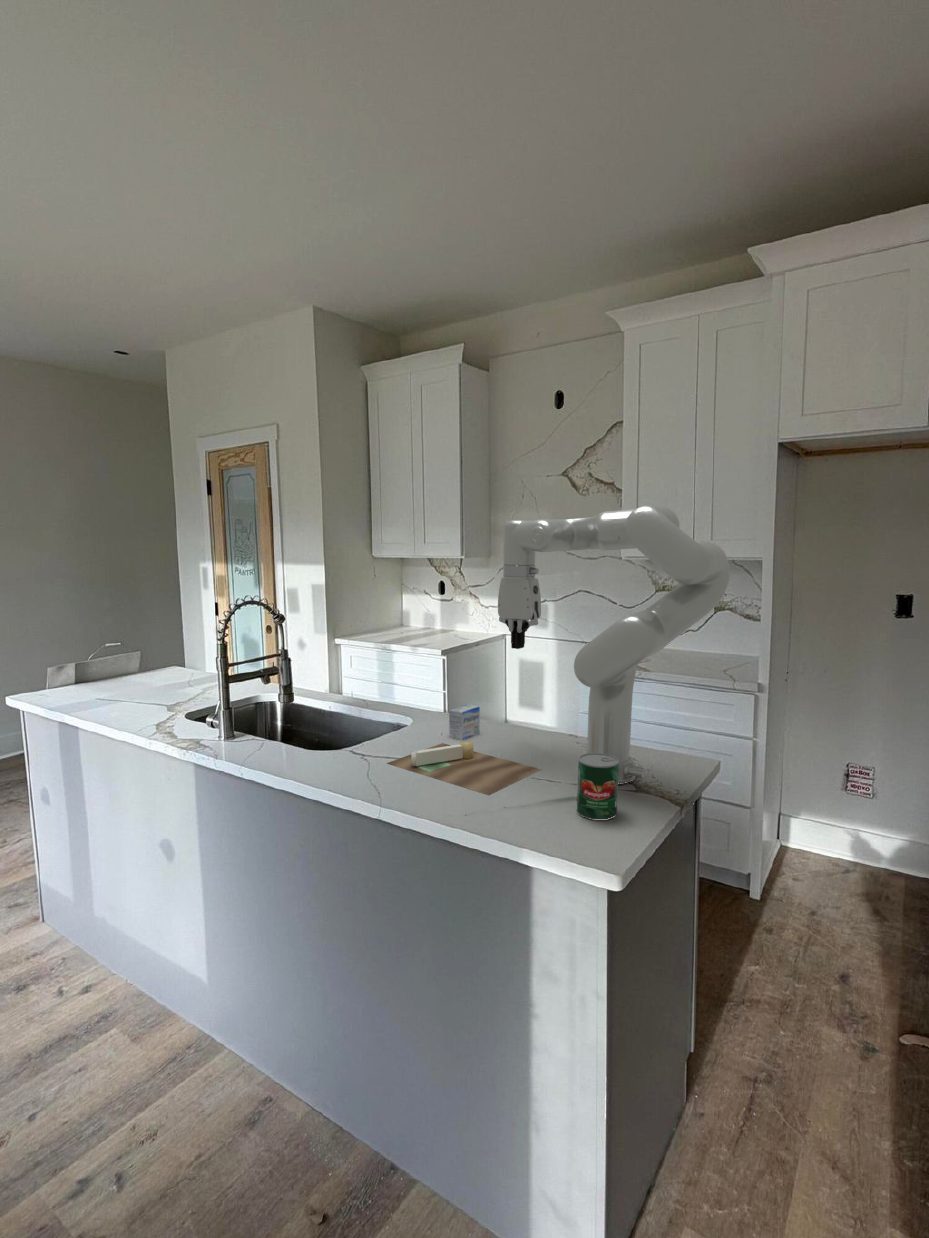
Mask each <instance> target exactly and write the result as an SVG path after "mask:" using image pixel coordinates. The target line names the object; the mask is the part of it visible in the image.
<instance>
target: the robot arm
mask: <svg viewBox="0 0 929 1238" xmlns="http://www.w3.org/2000/svg"><path fill="white" fill-rule="evenodd" d="M503 527H504V528H503V572H502V573H503V575H502V577H501V578H500V583H499V587H498V588H499V590H498V595H497V596H498V597H497V598H498V599H497V615H498V616H499V618H498V622H500V623H502V624H504V625H506V627H507V629H508V632H510V644H511V646H510V647H511V649H516V650H520V649H524V648H525V643H526V632H527V631H528V630H529V628H530V627H533V626H538V624H539V621H538V620H539V619H540V618H541V617H542V597H541V589H540V583H539V579H538V578H535V577H536V575H538V574H539V572H540V570H539V568H536V552H538V553H553V552H567V551H568V552H570V551H581V550H582V551H584V550H601V551H617V550H629V549H637V550H638V551H639V552H640V553H641V554H643V555H644V556H645V557H646V558H647V559H648V560H650V561H651V562H652V563H653V564H654V565H655V566H657V567H658V568H659V569H660V570H661V571H662V572H663V573H665V575H667V576H668V577H670V578H671V579H672V580H674V581H675V582H678V583H679V584H678V585H676V587H674V588H672V589H671V590H670V591H668V592H667V593H665V594H664V595H662V597H661V598H660V599H658V600H657V601H656V602H655V603H653V604H651V605H650V606H648V607H647V608H646V609H643V610H640V611H637V612H635V613H630V614H628V615H626V616H625V615H624V617H621V618H620V619H618V620H616V621H615V622H614V623H612V624H610V626H609V627H608V628H606V629H604V630H603V631H602V632H601V633H599V634H598V635H597V636H596V637H594V638H592V640H590V641H589V642H588V643H587V644H586V645H584V646H582V647H581V649H579V651H578V652H577V653H576V656H575V657H574V658H575V659H574V661H573V672H574V674H575V677H576V679H577V680H578V681H579V682H580V683H581V684H583V685H584V686H585V687H588V688H589V696H588V712H587V715H588V716H587V743H586V744H587V745H586V754H588V753H602V754H608V755H612V756H614V757H616V758H617V759H618V760H619V771H618V783H619V784H620V783H625V782H629V781H631V780H634V779H635V778H638V779H644V778H645V776H646V768H645V766H641V765H636V764H635V757H631V755H630V754H631V732H632V731H631V729H632V713H633V712H632V711H633V692H634V684H635V680H636V673H637V665H638V664H640V663H641V662H643V661H644V660H645V659H647V658H649V657H652V656H654V655H656V654H658V653H660V652H661V651H662V650H663V649H664V648H666V647H667V646H668V645H669V644H670V643H671V642H673V641H674V640H676V639H677V638H678V637H680V635H682V634H683V633H685V632H687V630H688V629H690V628H692V627H693V626H694V625H695V624H696V623H698V622H699V621H700V620H702V619H703V618H705V616H707V615H708V614H709V613H711V612H712V611H713V609H715V607H716V606H717V605H718V604H719V603H720V601H721V600H722V598H723V597H724V595H725V594H726V592H727V589H728V585H729V582H730V575H731V574H730V572H731V571H730V564H729V563H730V562H729V559H728V557H727V554H726V553H725V551H724V550H723V548H722V547H721V546H719V545H717V544H716V543H715V542H711V541H705V540H695V539H693V538H692V537H691V536H690V535H688V534H687V533H686V532H685V531H683V530H682V529H681V528H680V521H679V517H678V515H677V514H676V513H675V512H674V511H673V510H672V509H671V508H668V507H666V506H662V505H661V506H660V505H647V504H646V505H641V506H639V507H637V508H630V509H618V510H606V511H602V512H600V513H598V514H597V515H595V516H588V517H580V518H569V519H557V518H556V519H552V518H549V519H548V518H541V519H534V520H529V519H528V520H523V519H516V520H515V519H512V520H507V521H506V522H505V524H504V526H503ZM635 780H636V779H635ZM635 780H634V781H635Z"/></svg>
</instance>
